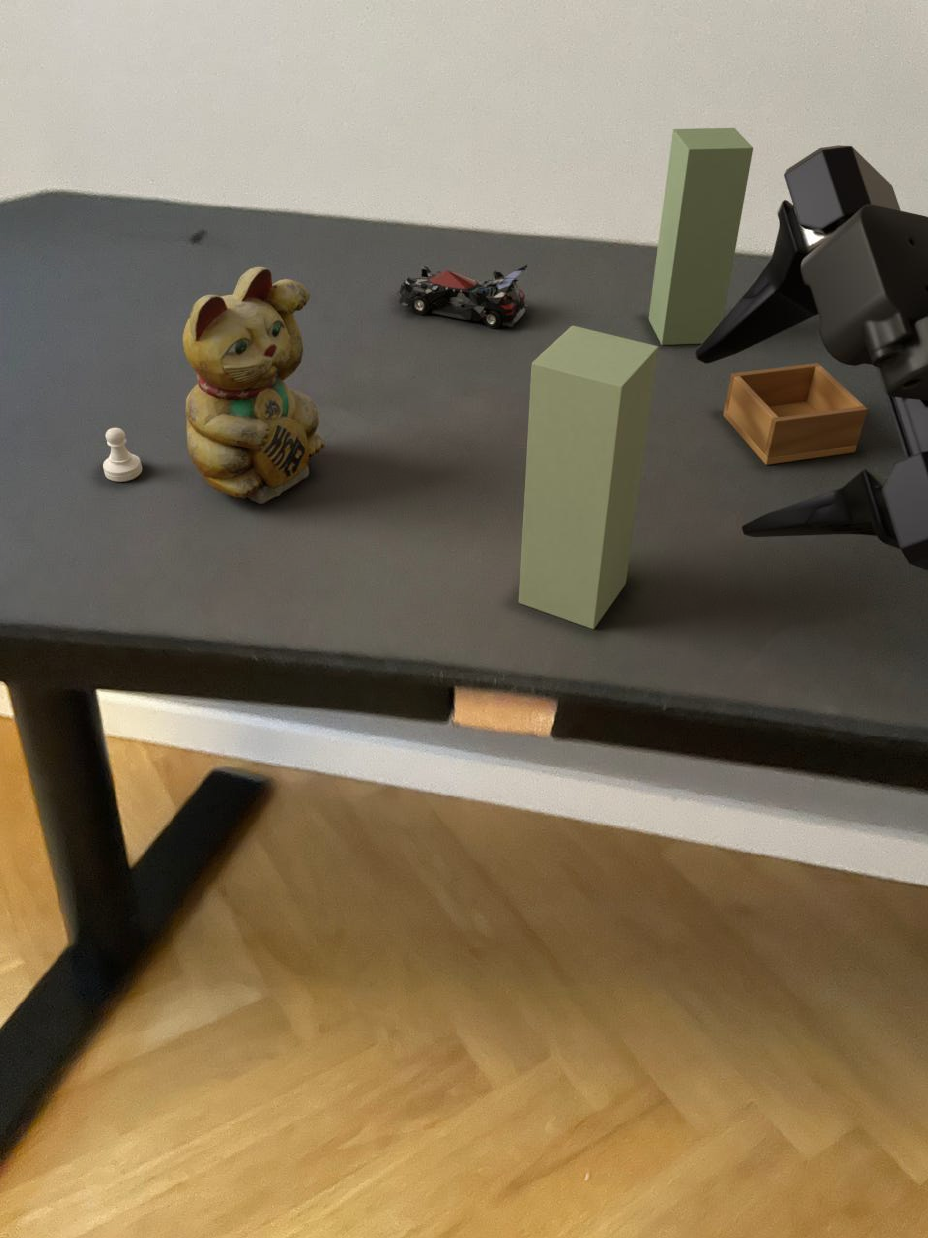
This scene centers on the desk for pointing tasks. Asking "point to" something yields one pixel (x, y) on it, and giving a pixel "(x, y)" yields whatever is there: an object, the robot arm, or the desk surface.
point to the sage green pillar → (583, 471)
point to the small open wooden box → (794, 413)
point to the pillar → (698, 232)
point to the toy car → (466, 296)
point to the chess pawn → (120, 458)
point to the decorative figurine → (249, 389)
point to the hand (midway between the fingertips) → (722, 442)
